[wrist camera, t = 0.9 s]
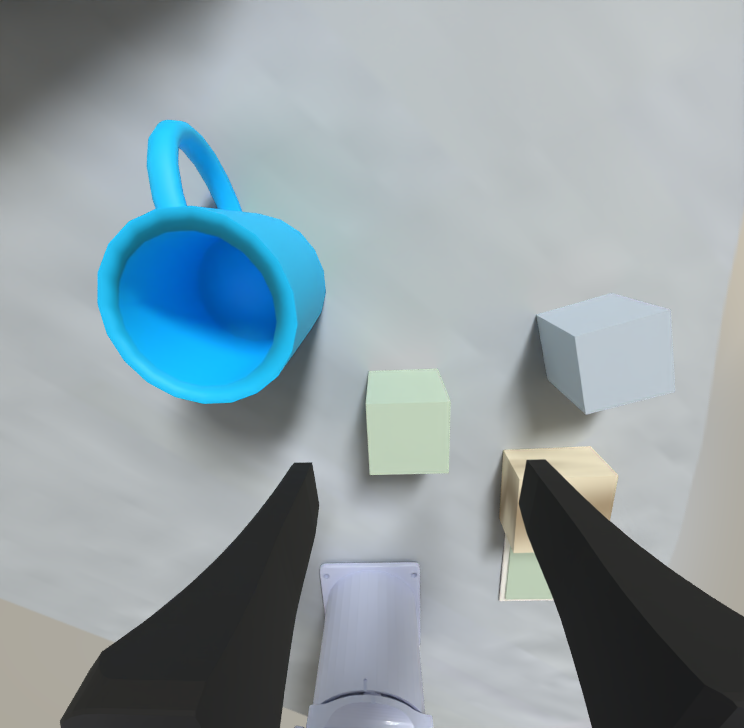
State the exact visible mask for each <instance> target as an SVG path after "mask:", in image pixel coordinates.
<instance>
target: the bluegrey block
mask: <svg viewBox="0 0 744 728" xmlns="http://www.w3.org/2000/svg"><path fill="white" fill-rule="evenodd" d="M536 317H537V323H538V328H539V334H540V340H541V346H542V351H543V357H544V363H545V368H546V374H547V379H548V380H549V381H550V382H551V383H552V384H553V385H554V386H555V387H556V388H557V389H558V390H560V391H561V392H562V393H563V394H564V395H565V396H566V397H567V398H568V399H569V400H570V401H572V402H573V403H574V404H575V405H576V406H577V407H578V408H579V409H580V410H581V411H582V412H584V413H585V414H586V415H587V414H590V413H594V412H598V411H602V410H606V409H610V408H614V407H618V406H622V405H626V404H630V403H634V402H638V401H642V400H646V399H650V398H654V397H658V396H662V395H666V394H669V393H673V392H675V376H674V358H673V339H672V320H671V309H667V308H664V307H660V306H657V305H653V304H649V303H646V302H642V301H639V300H635V299H632V298H628V297H625V296H621V295H618V294H614V293H609V294H606V295H602V296H599V297H595V298H592V299H589V300H585V301H582V302H578V303H575V304H571V305H568V306H564V307H561V308H558V309H554V310H551V311H547V312H544V313H540V314H537V315H536Z"/></svg>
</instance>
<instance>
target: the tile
mask: <svg viewBox="0 0 744 728" xmlns="http://www.w3.org/2000/svg"><path fill="white" fill-rule="evenodd" d="M499 600H500V601H533V600H553V597H552V595H551V592H550V590H549V587H548V585H547V583H546V580H545V578H544V575H543V573H542V570H541V568H540V566H539V563H538V561H537V558H536V556H535V553H513V551H512V548H511V546H510V544H509V541H508V539H507V536H506V534H505V541H504V551H503V562H502V572H501V583H500V594H499Z"/></svg>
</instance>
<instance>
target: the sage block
mask: <svg viewBox="0 0 744 728" xmlns="http://www.w3.org/2000/svg"><path fill="white" fill-rule="evenodd" d="M450 404H451V402H450V399H449V396H448V394H447V391H446V389H445V386H444V384H443V381H442V379H441V376H440V374H439V371H438V369H417V370H388V371H369V375H368V385H367V396H366V418H367V435H368V453H369V470H370V475H393V474H436V473H449V441H450Z"/></svg>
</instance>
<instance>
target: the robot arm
mask: <svg viewBox="0 0 744 728" xmlns="http://www.w3.org/2000/svg"><path fill="white" fill-rule="evenodd" d="M519 507H520V511H521V515H522V519H523V522H524V526H525V529H526V533H527V536H528V538H529V541H530V543H531V546H532V548H533V551H534V553H535V556H536V558H537V561H538V563H539V566H540V568H541V570H542V573H543V575H544V578H545V580H546V583H547V585H548V587H549V590H550V592H551V595H552V597H553V600H554V602H555V605H556V607H557V610H558V613H559V616H560V618H561V621H562V625H563V628H564V631H565V634H566V638H567V641H568V644H569V647H570V651H571V654H572V657H573V661H574V664H575V668H576V671H577V675H578V678H579V681H580V685H581V688H582V692H583V695H584V699H585V703H586V707H587V710H588V714H589V718H590V722H591V725H592V728H744V617H743V616H742V615H740V614H738V613H737V612H735V611H733V610H732V609H730V608H728V607H727V606H725V605H724V604H722V603H721V602H719V601H717V600H716V599H714V598H712V597H711V596H709V595H708V594H706V593H705V592H703V591H702V590H700V589H699V588H697V587H696V586H695V585H693V584H692V583H690V582H689V581H687V580H685V579H684V578H683V577H681V576H680V575H678V574H677V573H675V572H674V571H673V570H671V569H670V568H668V567H667V566H666V565H664V564H663V563H662V562H660V561H659V560H658V559H656V558H655V557H654V556H652V555H651V554H650V553H648V552H647V551H646V550H644V549H643V548H642V547H641V546H639V545H638V544H637V543H636V542H634V541H633V540H632V539H631V538H629V537H628V536H627V535H626V534H625V533H623V532H622V531H621V530H620V529H619V528H617V527H616V526H615V525H614V524H613V523H612V522H610V521H609V520H608V519H607V518H606V517H605V516H604V515H603V514H601V513H600V512H599V511H598V510H597V509H596V508H595V507H594V506H593V505H592V504H591V503H590V502H589V501H587V500H586V499H585V498H584V497H583V496H582V495H581V494H580V493H579V492H578V491H577V490H576V489H575V488H574V487H573V486H572V485H571V484H570V483H569V482H568V481H567V480H566V479H565V478H564V477H563V476H562V475H561V474H560V473H559V472H558V471H557V470H556V469H555V468H554V467H553V466H552V465H551V464H550V463H549V462H548V461H547V460H546V459H538V460H526V466H525V471H524V476H523V482H522V487H521V493H520V498H519ZM318 510H319V501H318V495H317V489H316V483H315V477H314V471H313V465H312V463H294V464H293V465H292V466H291V467H290V469H289V470H288V472H287V473H286V475H285V476H284V478H283V479H282V481H281V482H280V483H279V485H278V486H277V488H276V489H275V490H274V492H273V493H272V495H271V496H270V497H269V499H268V500H267V501H266V502H265V504H264V505H263V506H262V508H261V509H260V510H259V512H258V513H257V514H256V515H255V517H254V518H253V519H252V520H251V521H250V523H249V524H248V525H247V526H246V527H245V528H244V530H243V531H242V532H241V533H240V534H239V535H238V537H237V538H236V539H235V540H234V541H233V542H232V543H231V544H230V545H229V546H228V548H227V549H226V550H225V551H224V552H223V553H222V554H221V555H220V556H219V557H218V558H217V559H216V560H215V561H214V562H213V563H212V564H211V565H210V566H209V567H208V568H207V569H206V570H204V571H203V572H202V573H201V574H200V575H199V576H198V577H197V578H196V579H195V580H194V581H193V582H192V583H190V584H189V585H188V586H187V587H186V588H185V589H184V590H183V591H181V592H180V593H179V594H178V595H176V596H175V597H174V598H173V599H172V600H170V601H169V602H168V603H167V604H166V605H164V606H163V607H162V608H161V609H159V610H158V611H157V612H156V613H155V614H153V615H152V616H151V617H149V618H148V619H147V620H146V621H144V622H143V623H142V624H140V625H139V626H137V627H136V628H135V629H133V630H132V631H130V632H129V633H128V634H126V635H125V636H123V637H122V638H121V639H119V640H118V641H117V642H115V643H114V644H112V645H111V646H109V647H108V648H107V649H105V650H104V651H102V652H101V654H100V656H99V657H98V659H97V660H96V661H95V663H94V664H93V666H92V668H91V669H90V670H89V672H88V674H87V676H86V677H85V679H84V681H83V682H82V684H81V686H80V688H79V690H78V691H77V693H76V695H75V696H74V698H73V700H72V702H71V703H70V705H69V706H68V708H67V710H66V712H65V713H64V715H63V717H62V719H61V720H60V725H61V728H280V722H281V714H282V707H283V699H284V691H285V684H286V677H287V670H288V663H289V656H290V649H291V643H292V636H293V630H294V624H295V617H296V612H297V608H298V603H299V599H300V595H301V591H302V587H303V582H304V578H305V574H306V570H307V566H308V562H309V558H310V554H311V550H312V546H313V542H314V538H315V533H316V526H317V518H318ZM413 573H414V574H413ZM326 574H328V575H326ZM320 579H321V587H322V595H323V603H324V611H325V624H324V631H323V638H322V644H321V651H320V658H319V665H318V672H317V679H316V686H315V693H314V699H313V705H310V706H309V712H308V719H307V725H306V728H433V718H432V715H429V714H425V706H424V694H423V683H422V672H421V661H420V649H419V646H420V566H419V564H418V563H416V562H385V563H325V564H322V565H321V566H320ZM294 728H304V727H301V726H295V727H294Z"/></svg>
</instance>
